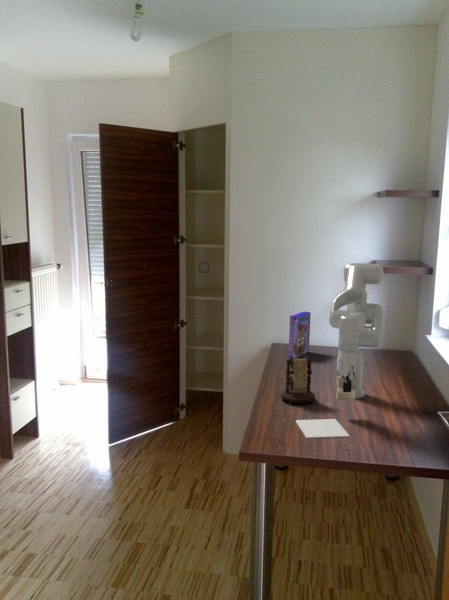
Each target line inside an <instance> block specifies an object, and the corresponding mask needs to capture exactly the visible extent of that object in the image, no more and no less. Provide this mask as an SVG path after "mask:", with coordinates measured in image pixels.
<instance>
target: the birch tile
mask: <svg viewBox="0 0 449 600" xmlns="http://www.w3.org/2000/svg"><path fill="white" fill-rule="evenodd" d="M344 378H345V377H344V376H341V375H338V376H336V388H335V390H336V394H335V398H336V399H337V400H338V401H340V400H341V401H342V400H346V401H347V400H356V398H355V390H356V377H355V376H353V378H354V380H352V386H351V392H343V382H344ZM347 378H349V377H347Z"/></svg>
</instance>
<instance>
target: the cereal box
mask: <svg viewBox="0 0 449 600" xmlns="http://www.w3.org/2000/svg"><path fill="white" fill-rule="evenodd" d="M311 314H312V313H311V312H309V311H301V312H298V313H295V314H291V315H290V316H289V334H288V336H289V338H288V358H290V356H291V355H292V356H293V357H294V358H293V359H298V358H300V357H302V356H304V355H306V354H308V353H309V352H310V337H311V336H310V335H311V332H310V331H311V316H312V315H311ZM308 351H309V352H308ZM307 352H308V353H307ZM305 353H306V354H305ZM303 354H304V355H303ZM301 355H302V356H301ZM299 356H300V357H299ZM297 357H298V358H297Z"/></svg>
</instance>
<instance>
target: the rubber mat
mask: <svg viewBox="0 0 449 600" xmlns="http://www.w3.org/2000/svg"><path fill="white" fill-rule="evenodd" d="M295 423H296V424H297V426H298V427H299V429H300V431H301V433H302V434H303V435H304V437H305V438H306V439H329V438H331V439H332V438H350V435H349V433H348V431H346V430H345V428H344V427H343V426H342V425H341V423H339V421H338V420H337V419H336V418H325V419H323V418H321V419H320V418H319V419H297V420H295Z"/></svg>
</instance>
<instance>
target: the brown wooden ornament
mask: <svg viewBox="0 0 449 600" xmlns="http://www.w3.org/2000/svg"><path fill="white" fill-rule="evenodd" d="M288 358H289V359H287V360H286V361H285V362H286V368H285V369H286V370H285V375H286V378H285V389H284V390H281V392H280V397H281V398H282V399H283V400H285V401H288V404H289V405H292V403H301V404H302V403H310V404H312V403H314V402H313V401H314V400H315V399H316V394H315V393H314V392H312V391H311V384H312V379H311V374H312V373H313V371H312V363H313V360H312V359H311V358H309V356H308V355H307V354H304V358H293V356H292V355H291V356H290V357H288ZM290 369H291V370H290ZM292 375H293V376H292Z"/></svg>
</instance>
